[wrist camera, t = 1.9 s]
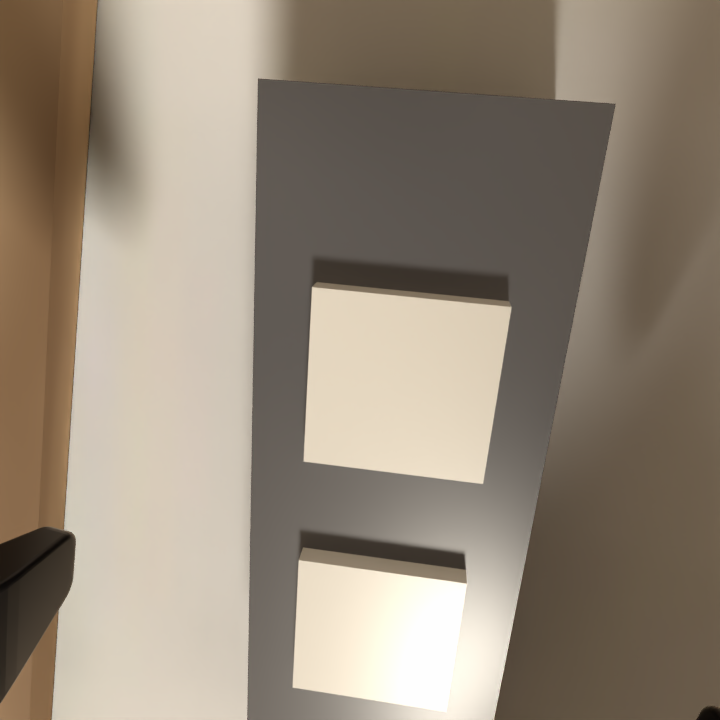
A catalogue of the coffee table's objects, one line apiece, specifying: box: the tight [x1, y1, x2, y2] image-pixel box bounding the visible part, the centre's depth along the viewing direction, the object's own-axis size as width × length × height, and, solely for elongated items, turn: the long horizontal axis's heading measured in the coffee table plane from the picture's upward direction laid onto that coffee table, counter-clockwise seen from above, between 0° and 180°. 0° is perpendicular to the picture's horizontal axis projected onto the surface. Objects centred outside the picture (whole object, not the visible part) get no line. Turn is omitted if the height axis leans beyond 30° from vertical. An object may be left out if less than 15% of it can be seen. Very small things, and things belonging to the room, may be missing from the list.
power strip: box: [247, 79, 615, 720], centre depth 11 cm, size 4×14×5 cm, turn 176°
